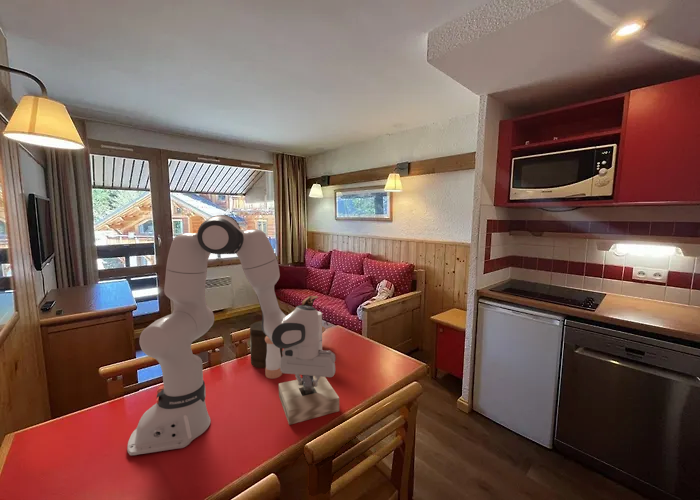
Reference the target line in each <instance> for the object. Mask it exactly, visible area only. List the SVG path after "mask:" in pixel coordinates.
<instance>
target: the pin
mask: <svg viewBox="0 0 700 500" xmlns="http://www.w3.org/2000/svg"><path fill="white" fill-rule="evenodd" d="M301 376H302V377H301V378H302V379H303V394H304V396H305V395H309V394H313V393H314V387H313V381H314V379H313V376H310V375H301Z"/></svg>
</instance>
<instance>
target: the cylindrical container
mask: <svg viewBox="0 0 700 500" xmlns="http://www.w3.org/2000/svg"><path fill="white" fill-rule="evenodd" d="M317 312H318V317H319V333H318V336H319V343H320V350H323V333H322V326H323V313H322V312H321V311H320V310H319V311H318V310H317Z"/></svg>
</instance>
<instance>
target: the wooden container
mask: <svg viewBox="0 0 700 500" xmlns="http://www.w3.org/2000/svg"><path fill="white" fill-rule="evenodd" d="M249 332H250V333H249V341H250V342H249V343H250V345H249V346H250V364H251V366H252V367H255V368H258V369H265V368H266V355H267V343H266V342H265V337H266V335H265V334H264V332H263V330H262V320H259V321H255V322H253V323H252V324H250V325H249ZM282 351H283V349H281V348H280V354H281V358H282V356H283V355H282Z"/></svg>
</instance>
